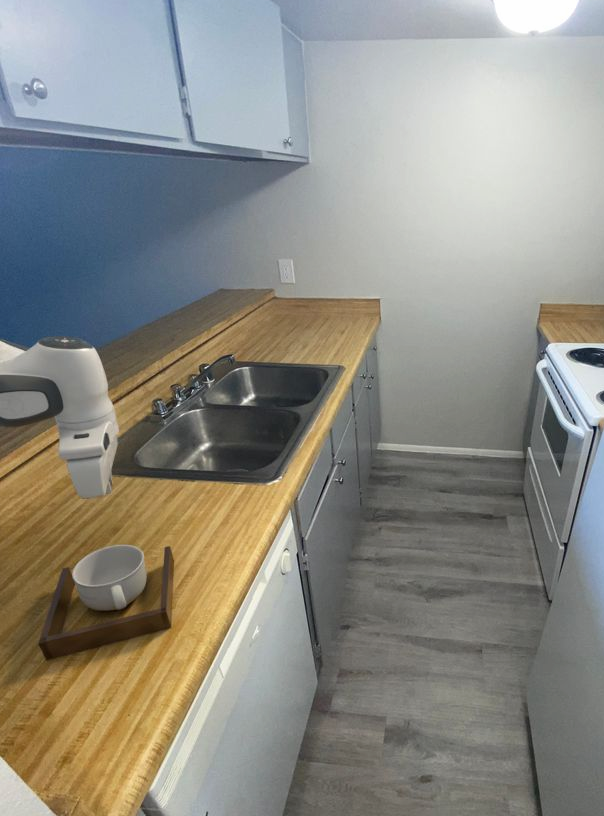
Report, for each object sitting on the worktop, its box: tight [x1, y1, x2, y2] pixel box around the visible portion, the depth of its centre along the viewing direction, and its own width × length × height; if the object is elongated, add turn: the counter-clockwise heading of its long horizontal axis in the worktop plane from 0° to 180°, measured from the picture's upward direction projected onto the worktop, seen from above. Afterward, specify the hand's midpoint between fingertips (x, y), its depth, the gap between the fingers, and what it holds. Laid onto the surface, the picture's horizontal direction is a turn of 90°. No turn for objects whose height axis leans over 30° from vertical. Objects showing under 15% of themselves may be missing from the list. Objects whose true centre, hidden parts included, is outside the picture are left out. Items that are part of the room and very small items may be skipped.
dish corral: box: [37, 545, 175, 661], centre depth 84 cm, size 18×17×4 cm
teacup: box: [71, 544, 147, 612], centre depth 83 cm, size 14×11×8 cm
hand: (107, 490), depth 90 cm, fingers closed
